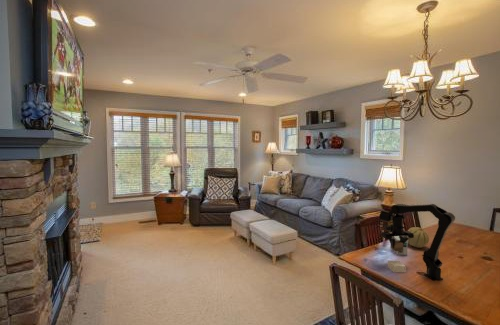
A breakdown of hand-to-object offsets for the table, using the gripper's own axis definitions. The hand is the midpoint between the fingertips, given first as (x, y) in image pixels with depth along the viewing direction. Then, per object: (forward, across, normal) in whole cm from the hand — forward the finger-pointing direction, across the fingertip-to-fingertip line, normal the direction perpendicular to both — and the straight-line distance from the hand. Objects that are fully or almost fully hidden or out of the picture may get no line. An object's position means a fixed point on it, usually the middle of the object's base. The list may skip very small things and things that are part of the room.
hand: (396, 247), depth 161 cm
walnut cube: (+1, 0, 0) cm, 1 cm away
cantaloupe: (+11, -33, -25) cm, 43 cm away
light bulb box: (+11, -14, -17) cm, 25 cm away
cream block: (+11, +4, +6) cm, 13 cm away
